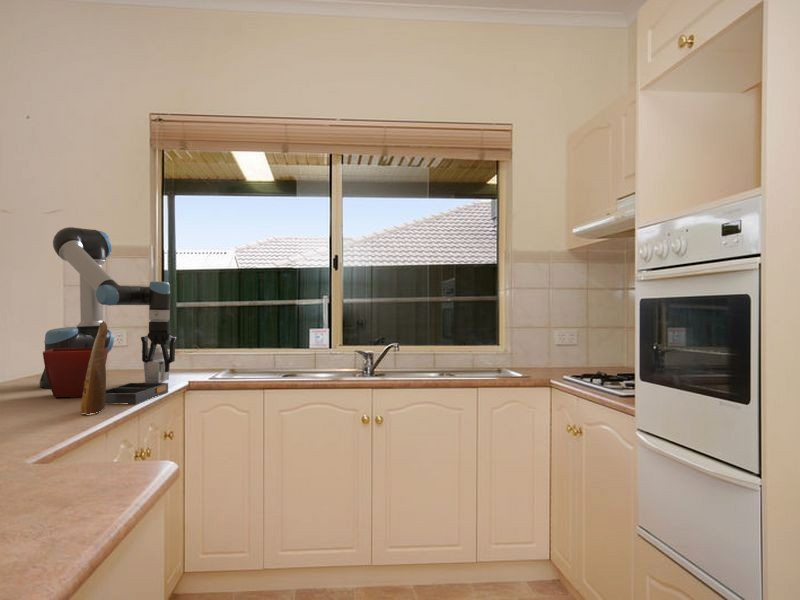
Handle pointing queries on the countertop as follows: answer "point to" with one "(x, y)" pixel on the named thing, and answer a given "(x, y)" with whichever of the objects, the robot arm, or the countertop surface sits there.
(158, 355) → the coffee cup
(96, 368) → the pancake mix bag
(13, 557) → the countertop surface
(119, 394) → the tray
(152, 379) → the plain grey rectangular box
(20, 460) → the countertop surface
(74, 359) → the plant pot
